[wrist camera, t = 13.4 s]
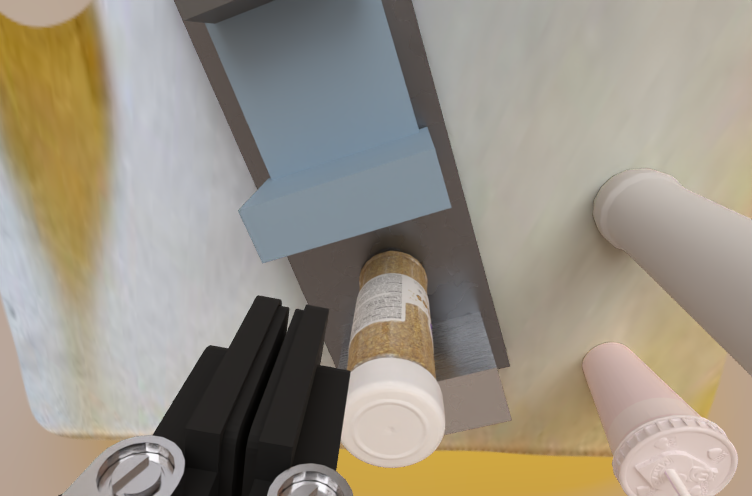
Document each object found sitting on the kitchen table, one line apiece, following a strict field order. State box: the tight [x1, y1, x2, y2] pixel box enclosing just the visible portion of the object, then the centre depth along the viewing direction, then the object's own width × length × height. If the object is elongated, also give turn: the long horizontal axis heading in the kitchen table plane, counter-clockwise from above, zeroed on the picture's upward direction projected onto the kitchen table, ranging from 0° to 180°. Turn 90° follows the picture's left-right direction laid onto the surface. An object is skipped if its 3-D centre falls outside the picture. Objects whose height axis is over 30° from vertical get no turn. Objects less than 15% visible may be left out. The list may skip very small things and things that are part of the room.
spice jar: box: [341, 251, 445, 468], centre depth 25 cm, size 5×5×13 cm
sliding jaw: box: [174, 0, 452, 263], centre depth 24 cm, size 14×10×6 cm
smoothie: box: [582, 342, 738, 496], centre depth 29 cm, size 6×6×14 cm
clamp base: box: [174, 0, 512, 435], centre depth 27 cm, size 30×12×8 cm, turn 18°
